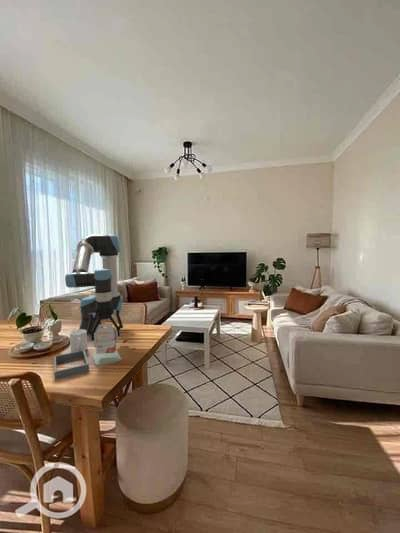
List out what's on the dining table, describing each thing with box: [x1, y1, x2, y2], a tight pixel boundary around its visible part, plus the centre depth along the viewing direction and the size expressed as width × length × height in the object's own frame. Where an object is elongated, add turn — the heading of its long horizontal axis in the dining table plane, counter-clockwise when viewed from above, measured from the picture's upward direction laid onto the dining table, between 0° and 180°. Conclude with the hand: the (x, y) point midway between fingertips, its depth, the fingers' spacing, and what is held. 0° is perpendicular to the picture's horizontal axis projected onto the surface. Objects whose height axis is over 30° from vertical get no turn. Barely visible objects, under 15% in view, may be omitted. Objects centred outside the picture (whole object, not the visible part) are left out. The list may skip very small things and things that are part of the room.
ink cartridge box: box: [95, 323, 117, 355], centre depth 124 cm, size 9×5×15 cm, turn 95°
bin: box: [53, 350, 90, 381], centre depth 117 cm, size 18×13×4 cm
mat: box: [91, 349, 123, 368], centre depth 125 cm, size 12×12×1 cm
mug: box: [69, 329, 88, 353], centre depth 135 cm, size 12×8×10 cm
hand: (106, 344), depth 124 cm, fingers closed on ink cartridge box, 9 cm apart
